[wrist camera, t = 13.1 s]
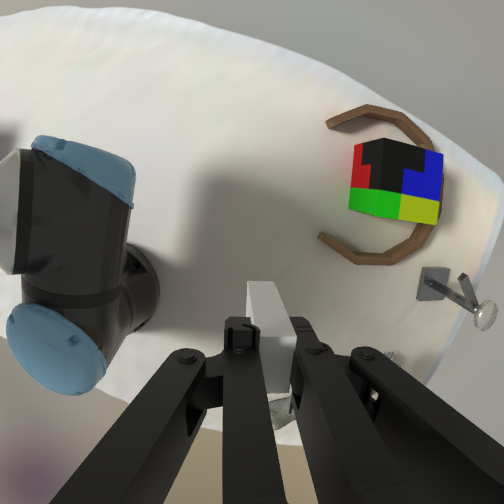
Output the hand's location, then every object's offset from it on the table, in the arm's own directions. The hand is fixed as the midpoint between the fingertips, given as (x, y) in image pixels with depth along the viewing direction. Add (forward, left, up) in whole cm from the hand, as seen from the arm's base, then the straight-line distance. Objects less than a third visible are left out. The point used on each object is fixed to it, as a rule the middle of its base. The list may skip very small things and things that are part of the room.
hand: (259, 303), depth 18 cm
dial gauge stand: (-7, -34, -28) cm, 45 cm away
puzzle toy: (+9, -21, -29) cm, 37 cm away
